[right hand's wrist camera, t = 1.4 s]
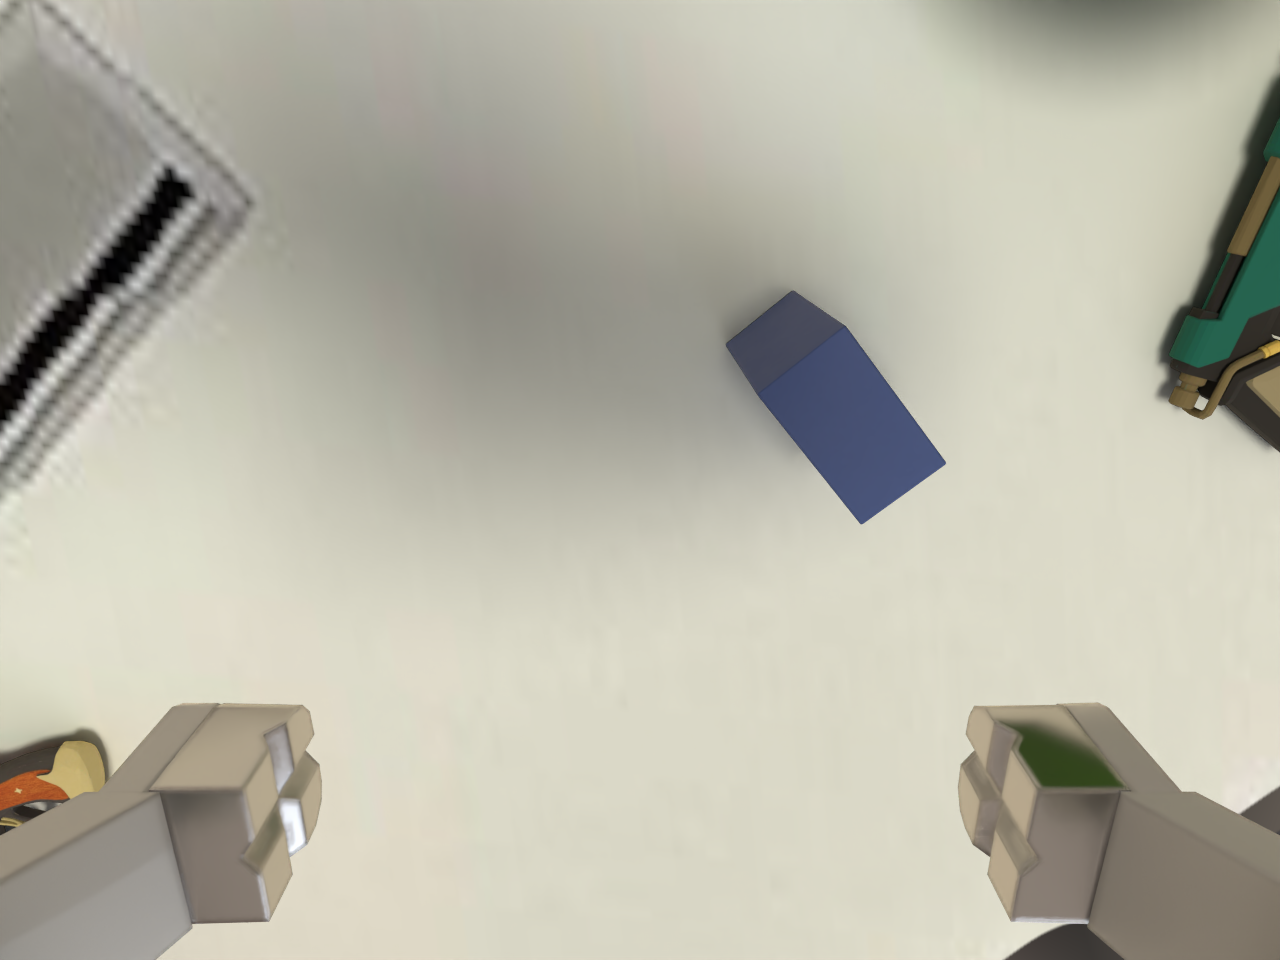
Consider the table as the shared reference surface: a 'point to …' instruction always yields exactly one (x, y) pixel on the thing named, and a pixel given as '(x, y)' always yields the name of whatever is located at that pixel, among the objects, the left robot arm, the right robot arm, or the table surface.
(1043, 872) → the right robot arm
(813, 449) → the brick
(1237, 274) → the spray gun
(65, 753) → the toy gun
